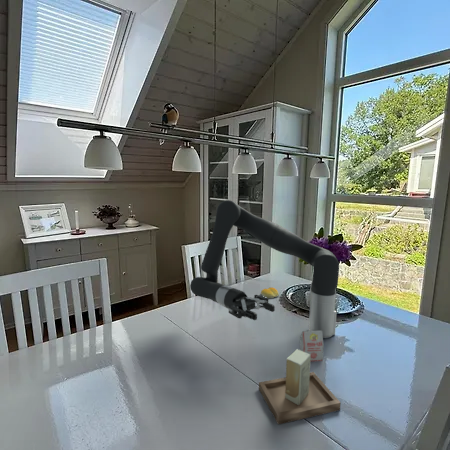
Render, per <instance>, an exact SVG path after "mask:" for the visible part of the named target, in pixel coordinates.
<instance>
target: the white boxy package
mask: <svg viewBox="0 0 450 450" xmlns="http://www.w3.org/2000/svg"><path fill="white" fill-rule="evenodd" d="M299 350H301V351H303V352H306V353H308V354H310V355H311V359H310V363H311V362H323V361H324V360H323V359H324V358H323V357H324V338H323V335H322V331H309V330H303V331H302V332H301V336H300V340H299Z"/></svg>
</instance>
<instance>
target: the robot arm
mask: <svg viewBox="0 0 450 450" xmlns="http://www.w3.org/2000/svg"><path fill="white" fill-rule="evenodd" d="M233 226H234V227H236V228H239V229H241V230H243V231H245V232H247V233H248V234H250V235H251V236H252V237H253V238H255V239H257V240H258V241H259V242H261V243H263V244H264V245H266V246H267V247H270V248H272V249H273V250H275V251H278V252H280V253H282V254H286V255H289V256H293V257H297V258H299V259H300V260H302V261H304V262H305V263H307V264H309V265H310V266H312V267H313V268H312V280H311V281H312V282H311V285H310V300H309V301H310V302H309V317H308V331H322V335H323V339H329V338H331V337H332V336H334V335H336V325H337V311H336V310H335V308H336V295H337V288H338V285H339V275H340V274H339V273H340V262H339V260H338V258H337V257H336V255H335V254H334V253H333V252H332V251H330V250H329V249H326V248H323V247H321V246H319V245H316V244H314V243H311V242H309V241H307V240H305V239H304V238H302V237H300V236H298V235H297V234H296V233H294V232H292V231H290V230H289V229H287V228H285V227H284V226H281V225H279V224H278V223H275V222H273V221H270V220H269V219H265V218H262V217H260V216H258V215H255V214H253V213H251V212H250V211H248V210H246V209H245V208H243V207H241V206H240V205H239V204H238V203H236V202H235V201H233V200H231V199H230V200H229V199H228V200H223V201H221V202H220V203H219V204H218V205H217V208H216V215H215V221H214V227H213V229H212V233H211V238H210V240H209V243H208V245H207V248H206V251H205V254H204V256H203V259H202V262H201V264H200V269H201V271H202V272H204V273H205V274H206V275H205V277H202V276H198V277H197V276H196V277H195V278H193V279H192V280H191V281H190V284H189V289H190V291H191V293H193V294H194V295H195V296H197V297H201V298H205V299H209V300H210V301H212V302H215V303H217V304H219V305H220V306H222V307H223V308H226V309H228V313H229V314H230V315H232V316H234V317H235V318H237V319H242V318H248V319H250V320H253V321H257V320H258V313H257V312H255V311H253V310H259V309H265V310H267V311H269V312H271V313H273V312H275V308H276V307H275V305H274V304H272V303H270V302H269V298H265V297H263V296H262V295H258V294H254V296H253V297H250V296H248V295H247V294H246V292H245V291H244V290H240V289H237V288H235V287H232V286H230V285H229V286H228V285H227V284H226V285H225V284H223V283H220V282H218V275H219V272H218V271H219V269H220V266H221V262H222V260H223V257H224V252H225V248H226V245H227V242H228V241H227V240H228V238H229V235H230V233H231V230H232V228H233Z"/></svg>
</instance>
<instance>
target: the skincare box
mask: <svg viewBox="0 0 450 450" xmlns="http://www.w3.org/2000/svg"><path fill="white" fill-rule="evenodd" d="M310 359H311V355H310V354H308V353H306V352H303V351H301V350H300V349H299V348H296V349H295V350H294V351H293V352H292V353H291V354H290V355H289V356H288V357H287V358H286V365H285V366H286V368H285V369H286V370H285V377H286V390H285V398H287V399H288V400H290V401H292V402H293V403H295V404H297V405H300V403H301V402H302V401H303V400H304V399H305V397H306V396H307V395H308V393H309V378H310V373H311V362H310Z"/></svg>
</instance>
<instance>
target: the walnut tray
mask: <svg viewBox="0 0 450 450" xmlns="http://www.w3.org/2000/svg"><path fill="white" fill-rule="evenodd" d="M258 390H259V392H260V394H261V396H262V398H263V400H264V401H265V403H266V405H267V407H268V409H269V410H270V412H271V414H272V416H273V417H274V419H275V421H276V423H277V425H283V424H287V423H291V422H295V421H300V420H304V419H308V418H312V417H316V415H317V416H320V415H321V416H322V415H326V414H329V413H333V412H334V413H335V412H337V411H338V412H339V411H341V401H340V400H339V399H338V398H337V397H336V396H335V394H333V392H332V391H331V390H330V389H329V388H328V387H327V385H326V384H325V383H324V382H323V381H322V380H321V379H320V377H319V376H318V375H317V374H316V373H315V372H314V371H312V372H311V371H310V378H309V393H308V395H307V396H306V397H305V399H304V400H303V401H302V402H301V403H300V405H297V404H295V403H293V402H292V401H290V400H288V399H287V398H285V390H286V376H285V377H281V378H280V377H279V378H274V379H271V380H265V381H260V382H258Z"/></svg>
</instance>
